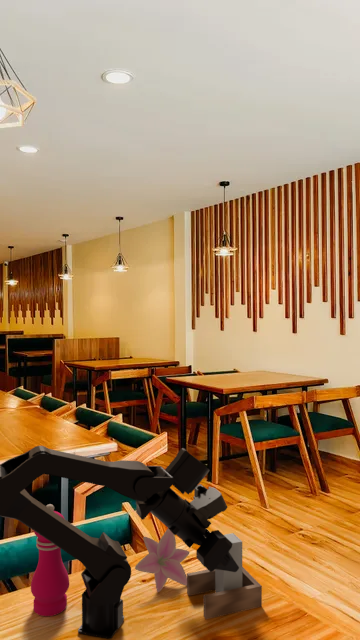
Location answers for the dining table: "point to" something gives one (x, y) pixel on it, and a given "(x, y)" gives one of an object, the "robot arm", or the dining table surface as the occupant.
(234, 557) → the tall grey pillar block
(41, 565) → the pepper mill
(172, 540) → the lily
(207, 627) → the dining table surface
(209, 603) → the bay
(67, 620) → the dining table surface
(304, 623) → the dining table surface
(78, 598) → the dining table surface
